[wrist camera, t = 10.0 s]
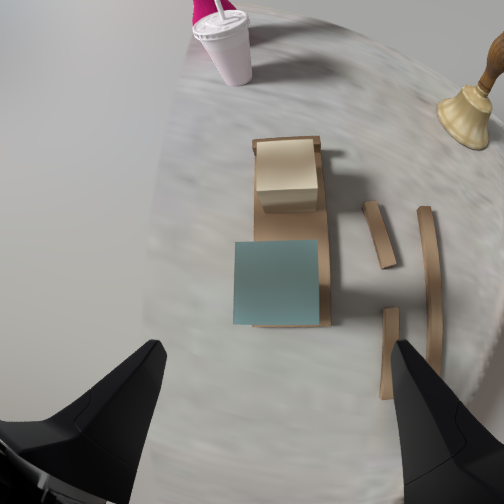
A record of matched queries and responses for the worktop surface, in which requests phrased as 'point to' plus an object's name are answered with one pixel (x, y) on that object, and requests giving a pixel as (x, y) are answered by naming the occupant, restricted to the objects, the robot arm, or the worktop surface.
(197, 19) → the pepper mill
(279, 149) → the maple block
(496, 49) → the hand bell
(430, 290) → the broken lane
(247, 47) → the smoothie
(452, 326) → the worktop surface
